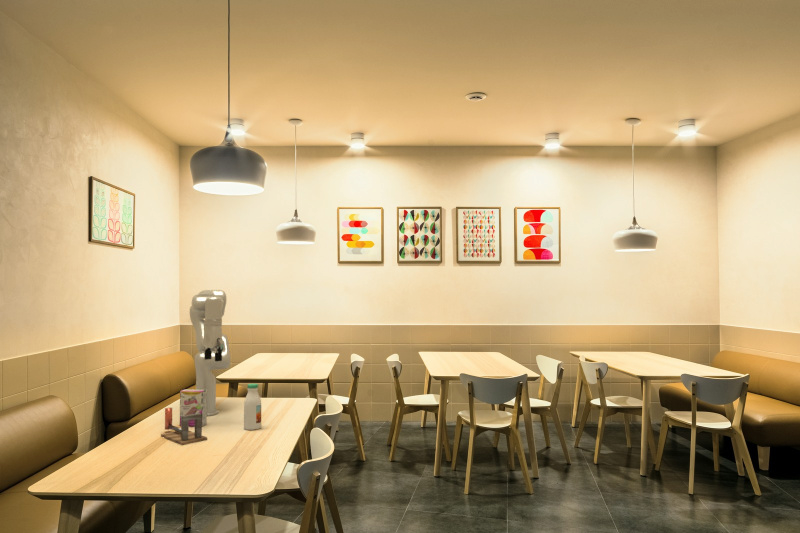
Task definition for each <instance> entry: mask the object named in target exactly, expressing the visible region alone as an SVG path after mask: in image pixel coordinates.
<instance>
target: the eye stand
mask: <svg viewBox="0 0 800 533" xmlns="http://www.w3.org/2000/svg"><path fill="white" fill-rule="evenodd" d="M189 420H195V427H194V431H191V430H189V427H190V426H189ZM180 428H181V433H179V432H176V431H174V430H173V431H171V432H164V433H161V434H160V437H161V438H163V437H164V439H166V440H168V441H171V442H173V443H174V444H175V443H176V444H177V445H180V446H184V445H189V444H193V443H199V442H203V441H208V436H205V435H202V433H203V430H202V429H203V427H202V414H201V413H197V414H191V415H185V416H181V426H180Z"/></svg>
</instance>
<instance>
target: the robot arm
mask: <svg viewBox="0 0 800 533" xmlns="http://www.w3.org/2000/svg"><path fill="white" fill-rule="evenodd" d="M226 305H227V294H226V292H225V291H224V290H222V289H205V290H201V291H200V292H198V294H195V295H193V297H192V299H191V306H190V307H189V318H190V321H191V325H192V326H193V329H194V331H195V342H196V343H195V344H196V349H197V351H198V352H197V353H196V354H195V355H194V366H195V379H196V381H195V390H207V417H208V416H214V415H217V414H219V412H220V411H219V409H216V408H217V404H216V402H217V400H216V399H217V395H216V394H217V393H216V391H217V379H216V376H215V374H214V373H213V372H211V371H213V370H214V371H215V370H216V371H217V370H225V369H229V368H230V366H231V351H230V345H229V339H228V336H227V335H226V334H225V333H223V330H222V326H223V323H222V322H223V317H224V316H225V312H226V310H225V309H226Z"/></svg>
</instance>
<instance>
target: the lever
mask: <svg viewBox="0 0 800 533" xmlns="http://www.w3.org/2000/svg"><path fill="white" fill-rule="evenodd" d="M164 430H167V431H168V430H171V431H173V432H174V431H176V432H179V433H181V427H178V426H176V425H173V407H165V408H164Z"/></svg>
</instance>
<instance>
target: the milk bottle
mask: <svg viewBox="0 0 800 533" xmlns="http://www.w3.org/2000/svg"><path fill="white" fill-rule="evenodd" d="M258 388H259V384H258V383H248V384H247V394H246V396H245V399H244V402H243V429H244V430H246V431H255V430H254V429H256V430H259V428H260V429H261V428H262V399H261V396H260V394H259V392H258Z"/></svg>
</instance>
